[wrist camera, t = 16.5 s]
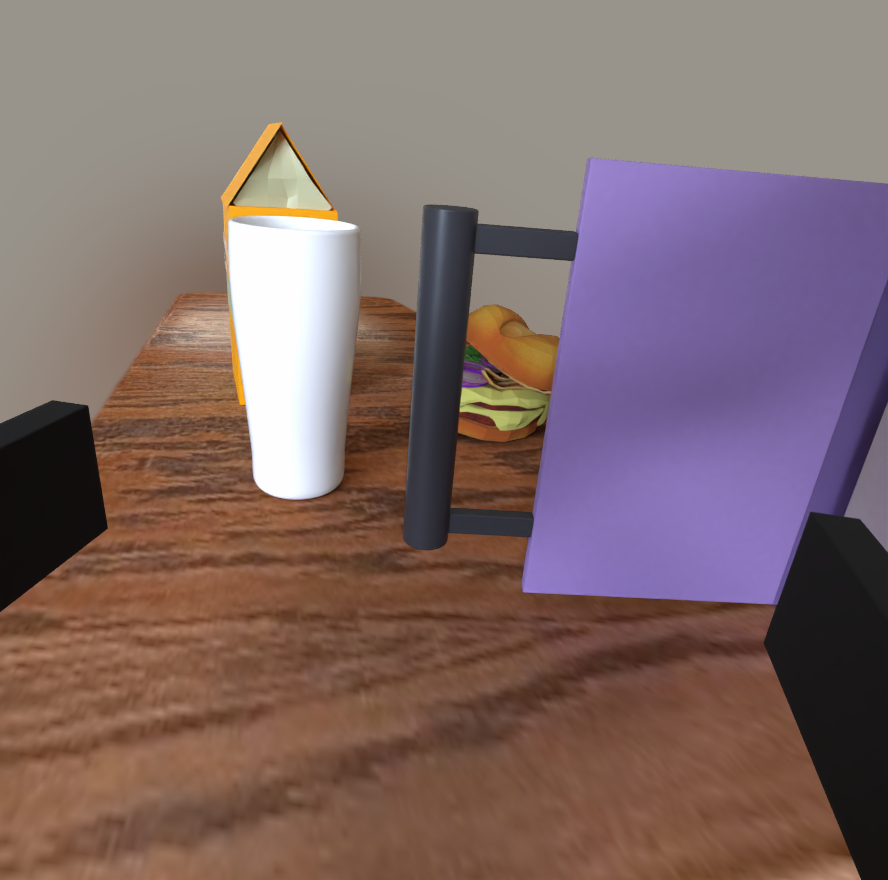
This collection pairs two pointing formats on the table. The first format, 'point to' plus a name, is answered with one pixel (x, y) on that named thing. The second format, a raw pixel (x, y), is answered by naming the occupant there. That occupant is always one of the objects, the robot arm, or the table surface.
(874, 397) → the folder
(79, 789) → the table surface
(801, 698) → the robot arm
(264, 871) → the table surface
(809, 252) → the folder cover
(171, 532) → the table surface
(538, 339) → the cheeseburger
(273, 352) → the drinking glass
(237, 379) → the orange juice
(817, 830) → the table surface
